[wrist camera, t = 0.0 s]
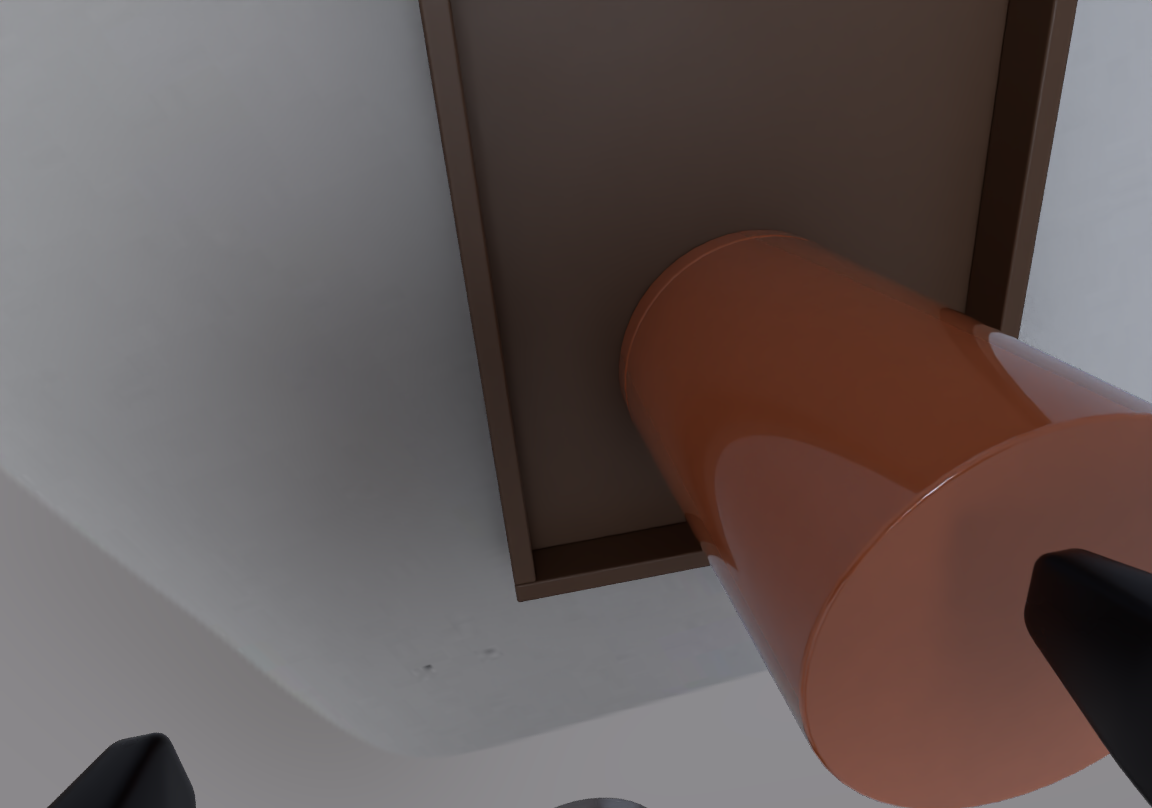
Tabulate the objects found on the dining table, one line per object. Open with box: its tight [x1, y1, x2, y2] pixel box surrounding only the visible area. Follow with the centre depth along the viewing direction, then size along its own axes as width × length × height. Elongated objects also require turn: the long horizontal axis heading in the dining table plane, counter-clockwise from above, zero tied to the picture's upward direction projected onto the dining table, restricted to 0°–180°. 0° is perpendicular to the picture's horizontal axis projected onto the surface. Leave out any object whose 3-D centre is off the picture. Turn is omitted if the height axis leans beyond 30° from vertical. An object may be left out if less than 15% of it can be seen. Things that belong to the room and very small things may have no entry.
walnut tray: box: [418, 0, 1078, 602], centre depth 18 cm, size 21×14×2 cm
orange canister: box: [619, 229, 1152, 808], centre depth 15 cm, size 7×7×11 cm
